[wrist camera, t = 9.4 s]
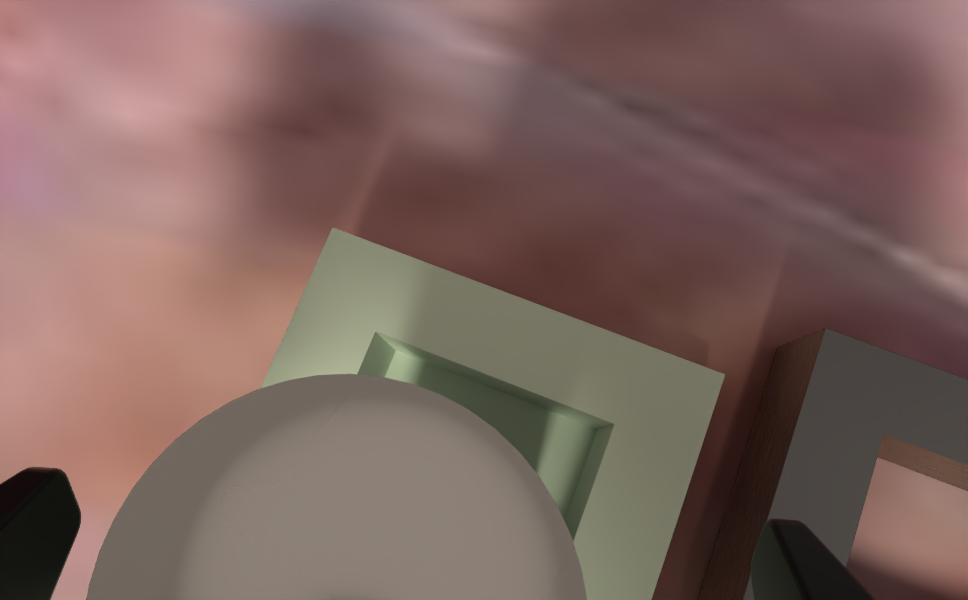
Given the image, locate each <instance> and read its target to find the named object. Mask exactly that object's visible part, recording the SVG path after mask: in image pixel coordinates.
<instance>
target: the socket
mask: <svg viewBox="0 0 968 600" xmlns="http://www.w3.org/2000/svg"><path fill="white" fill-rule="evenodd" d="M877 457H879V458H882V459H884V460H887V461H890V462H892V463H895V464H898V465H900V466H903V467H906V468H908V469H911V470H914V471H916V472H919V473H922V474H924V475H927V476H929V477H932V478H935V479H937V480H940V481H943V482H945V483H948V484H951V485H953V486H956V487H959V488H961V489H964V490H966V491H968V379H965V378H962V377H959V376H957V375H954V374H951V373H948V372H946V371H943V370H940V369H937V368H935V367H932V366H929V365H926V364H923V363H921V362H918V361H915V360H912V359H910V358H907V357H904V356H901V355H899V354H896V353H893V352H890V351H888V350H885V349H882V348H879V347H877V346H874V345H871V344H868V343H866V342H863V341H860V340H857V339H855V338H852V337H849V336H846V335H844V334H841V333H838V332H835V331H832V330H830V329H827V328H825V329H822V330H820V331H817V332H815V333H812V334H810V335H807V336H805V337H802V338H800V339H797V340H795V341H792V342H790V343H787V344H785V345H782V346H780V347H778V348H777V352H776V355H775V358H774V361H773V364H772V367H771V371H770V374H769V377H768V380H767V383H766V386H765V390H764V393H763V396H762V399H761V402H760V405H759V409H758V412H757V415H756V418H755V421H754V424H753V428H752V431H751V434H750V437H749V440H748V443H747V446H746V450H745V453H744V456H743V459H742V462H741V465H740V469H739V472H738V475H737V478H736V481H735V484H734V488H733V491H732V494H731V497H730V500H729V503H728V507H727V510H726V513H725V516H724V519H723V522H722V526H721V529H720V532H719V535H718V538H717V541H716V545H715V548H714V551H713V554H712V557H711V560H710V563H709V567H708V570H707V573H706V576H705V579H704V582H703V586H702V589H701V592H700V595H699V598H698V600H754V596H753V589H752V582H751V563H752V558H753V555H754V552H755V550H756V547H757V544H758V541H759V538H760V535H761V532H762V529H763V526H764V524H765V523H766V521H767V520H769V519H787V520H797V521H800V522H802V523H804V524H805V525H806V526H807V527H808V528H809V529H810V530H811V531H812V532H813V533H814V534H815V535H816V536H817V537H818V538H819V539H820V540H821V541H822V543H823V544H824V545H825V546H826V547H827V548H828V549H829V550H830V551H831V552H832V553H833V554H834V555H835V556H836V557H837V559H838V560H839V561H840V562H841V563H842V564H843V565H844V566H845V567H846V566H847V562H848V559H849V555H850V552H851V548H852V545H853V541H854V538H855V534H856V530H857V527H858V523H859V520H860V516H861V513H862V509H863V506H864V502H865V499H866V495H867V491H868V488H869V484H870V481H871V477H872V474H873V470H874V467H875V463H876V460H877Z"/></svg>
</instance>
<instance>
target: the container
mask: <svg viewBox="0 0 968 600" xmlns="http://www.w3.org/2000/svg"><path fill="white" fill-rule="evenodd" d="M329 374H359V375H369V376H380V377H385V378H389V379H394V380H398V381H402V382H407V383H411V384H414V385H416V386H419V387H422V388H424V389H427V390H430V391H432V392H435V393H438V394H440V395H442V396H444V397H446V398H448V399H450V400H452V401H454V402H455V403H457V404H459V405H461V406H463V407H465V408H467V409H469V410H470V411H471V412H473V413H474V414H476V415H477V416H478V417H480V418H481V419H482V420H484V421H485V422H487V423H488V424H489V425H491V426H492V427H494V428H495V429H496V430H497V431H498V432H499V433H500V434H501V435H502V436H503V437H504V438H505V439H507V440H508V441H509V442H510V443H511V444H512V445H513V446H514V447H515V448H516V449H517V450H518V451H519V452H520V453H521V454H522V456H523V457H524V458H525V459H526V461H527V462H528V463H529V464H530V465H531V467H532V468H533V469H534V470H535V472H536V473H537V474H538V475H539V477H540V478H541V480H542V481H543V483H544V485H545V486H546V488H547V489H548V491H549V493H550V494H551V496H552V497H553V499H554V501H555V502H556V504H557V506H558V508H559V510H560V512H561V515H562V517H563V519H564V521H565V523H566V525H567V528H568V530H569V532H570V534H571V537H572V540H573V543H574V546H575V549H576V552H577V556H578V559H579V562H580V565H581V568H582V573H583V579H584V584H585V590H586V595H587V600H652V597H653V593H654V590H655V587H656V584H657V581H658V578H659V575H660V572H661V569H662V566H663V563H664V560H665V557H666V554H667V551H668V548H669V545H670V542H671V539H672V535H673V532H674V529H675V526H676V523H677V520H678V517H679V514H680V511H681V508H682V505H683V502H684V499H685V496H686V493H687V490H688V487H689V484H690V481H691V478H692V474H693V471H694V468H695V465H696V462H697V459H698V456H699V453H700V450H701V447H702V444H703V441H704V438H705V435H706V432H707V429H708V426H709V423H710V420H711V417H712V413H713V410H714V407H715V404H716V401H717V398H718V395H719V392H720V389H721V386H722V383H723V380H724V377H725V374H723V373H720V372H718V371H715V370H712V369H710V368H707V367H704V366H702V365H699V364H696V363H694V362H691V361H688V360H686V359H683V358H680V357H678V356H675V355H672V354H670V353H667V352H664V351H662V350H659V349H656V348H654V347H651V346H648V345H646V344H643V343H640V342H638V341H635V340H632V339H630V338H627V337H624V336H622V335H619V334H616V333H614V332H611V331H608V330H606V329H603V328H600V327H598V326H595V325H592V324H590V323H587V322H584V321H582V320H579V319H576V318H574V317H571V316H568V315H566V314H563V313H560V312H558V311H555V310H552V309H550V308H547V307H544V306H542V305H539V304H536V303H533V302H531V301H528V300H525V299H523V298H520V297H517V296H515V295H512V294H509V293H507V292H504V291H501V290H499V289H496V288H493V287H491V286H488V285H485V284H483V283H480V282H477V281H475V280H472V279H469V278H467V277H464V276H461V275H459V274H456V273H453V272H451V271H448V270H445V269H443V268H440V267H437V266H435V265H432V264H429V263H427V262H424V261H421V260H419V259H416V258H413V257H411V256H408V255H405V254H403V253H400V252H397V251H395V250H392V249H389V248H387V247H384V246H381V245H379V244H376V243H373V242H371V241H368V240H365V239H363V238H360V237H357V236H355V235H352V234H349V233H347V232H344V231H341V230H339V229H336V228H333V227H332V230H331V232H330V234H329V236H328V239H327V241H326V243H325V245H324V247H323V250H322V252H321V254H320V256H319V259H318V261H317V263H316V265H315V268H314V270H313V272H312V274H311V277H310V279H309V281H308V283H307V285H306V288H305V290H304V292H303V294H302V297H301V299H300V301H299V303H298V306H297V308H296V310H295V312H294V314H293V317H292V319H291V321H290V323H289V326H288V328H287V330H286V332H285V335H284V337H283V339H282V341H281V344H280V346H279V348H278V350H277V352H276V355H275V357H274V359H273V361H272V364H271V366H270V368H269V370H268V373H267V375H266V377H265V379H264V382H263V384H262V386H261V388H264V387H267V386H271V385H274V384H277V383H280V382H284V381H287V380H292V379H298V378H304V377H309V376H315V375H329ZM261 388H260V389H261Z"/></svg>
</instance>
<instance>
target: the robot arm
mask: <svg viewBox="0 0 968 600" xmlns="http://www.w3.org/2000/svg"><path fill="white" fill-rule="evenodd" d="M80 523H81V511H80V508H79V505H78V503H77V500H76V498H75V495H74V492H73V490H72V487H71V485H70V482H69V480H68V477H67V475H66V473H64V472H63V471H62V470H61V469H57V468H45V467H30V468H27V469H24V470H23V471H21V472H19V473H17V474H16V475H14V476H13V477H11V478H9V479H8V480H6V481H5V482H3V483H1V484H0V600H50V599H51V597H52V594H53V592H54V589H55V587H56V585H57V582H58V580H59V577H60V575H61V572H62V570H63V568H64V565H65V563H66V560H67V558H68V555H69V553H70V550H71V548H72V546H73V543H74V541H75V538H76V536H77V533H78V531H79V528H80ZM751 582H752V589H753V596H754V600H876V599H875V598H874V597H873V596H872V595H871V594H870V593H869V592H868V591H867V590H866V588H865V587H864V586H863V585H862V584H861V583H860V582H859V581H858V580H857V579H856V578H855V577H854V576H853V575H852V574H851V572H850V571H849V570H848V569H847V568H846V567H845V566H844V565H843V564H842V563H841V562H840V561H839V560H838V559H837V557H836V556H835V555H834V554H833V553H832V552H831V551H830V550H829V549H828V548H827V547H826V546H825V545H824V544H823V543H822V541H821V540H820V539H819V538H818V537H817V536H816V535H815V534H814V533H813V532H812V531H811V530H810V529H809V528H808V527H807V526H806V525H805V524H804V523H802V522H800V521H797V520H787V519H769V520H767V521H766V523H765V524H764V526H763V529H762V532H761V535H760V538H759V541H758V544H757V547H756V550H755V552H754V555H753V558H752V563H751Z"/></svg>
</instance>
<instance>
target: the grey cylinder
mask: <svg viewBox="0 0 968 600" xmlns="http://www.w3.org/2000/svg"><path fill="white" fill-rule="evenodd" d="M86 600H587V595H586V590H585V584H584V579H583V573H582V568H581V565H580V562H579V559H578V556H577V552H576V549H575V546H574V543H573V540H572V537H571V534H570V532H569V530H568V528H567V525H566V523H565V521H564V519H563V517H562V515H561V512H560V510H559V508H558V506H557V504H556V502H555V501H554V499H553V497H552V496H551V494H550V493H549V491H548V489H547V488H546V486H545V485H544V483H543V481H542V480H541V478H540V477H539V475H538V474H537V473H536V472H535V470H534V469H533V468H532V467H531V465H530V464H529V463H528V462H527V461H526V459H525V458H524V457H523V456H522V454H521V453H520V452H519V451H518V450H517V449H516V448H515V447H514V446H513V445H512V444H511V443H510V442H509V441H508V440H507V439H505V438H504V437H503V436H502V435H501V434H500V433H499V432H498V431H497V430H496V429H495V428H494V427H492V426H491V425H489V424H488V423H487V422H485V421H484V420H482V419H481V418H480V417H478V416H477V415H476V414H474V413H473V412H471V411H470V410H469V409H467V408H465V407H463V406H461V405H459V404H457V403H455V402H454V401H452V400H450V399H448V398H446V397H444V396H442V395H440V394H438V393H435V392H432V391H430V390H427V389H424V388H422V387H419V386H416V385H414V384H411V383H407V382H402V381H398V380H394V379H389V378H385V377H380V376H369V375H359V374H329V375H315V376H309V377H304V378H298V379H292V380H287V381H284V382H280V383H277V384H274V385H271V386H267V387H264V388H261V389H258V390H255V391H253V392H251V393H249V394H246V395H244V396H242V397H240V398H238V399H235V400H233V401H231V402H229V403H227V404H225V405H224V406H222V407H221V408H219V409H217V410H216V411H214V412H212V413H211V414H209V415H207V416H206V417H204V418H203V419H201V420H200V421H198V422H197V423H196V424H195V425H193V426H192V427H191V428H190V429H188V430H187V431H186V432H185V433H183V434H182V435H181V436H180V437H178V438H177V439H176V440H175V441H174V442H173V443H172V444H171V445H170V446H169V447H168V448H167V449H166V450H165V451H164V452H163V453H162V454H161V455H160V456H159V457H158V458H157V459H156V460H155V461H154V462H153V463H152V464H151V465H150V467H149V468H148V469H147V471H146V472H145V473H144V475H143V476H142V477H141V478H140V480H139V481H138V482H137V484H136V485H135V486H134V488H133V489H132V490H131V492H130V493H129V495H128V497H127V498H126V500H125V502H124V503H123V505H122V507H121V508H120V510H119V512H118V513H117V515H116V517H115V518H114V520H113V522H112V525H111V527H110V529H109V531H108V534H107V536H106V538H105V540H104V543H103V545H102V547H101V549H100V552H99V555H98V558H97V561H96V564H95V568H94V571H93V574H92V577H91V580H90V584H89V588H88V594H87V599H86Z"/></svg>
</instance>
